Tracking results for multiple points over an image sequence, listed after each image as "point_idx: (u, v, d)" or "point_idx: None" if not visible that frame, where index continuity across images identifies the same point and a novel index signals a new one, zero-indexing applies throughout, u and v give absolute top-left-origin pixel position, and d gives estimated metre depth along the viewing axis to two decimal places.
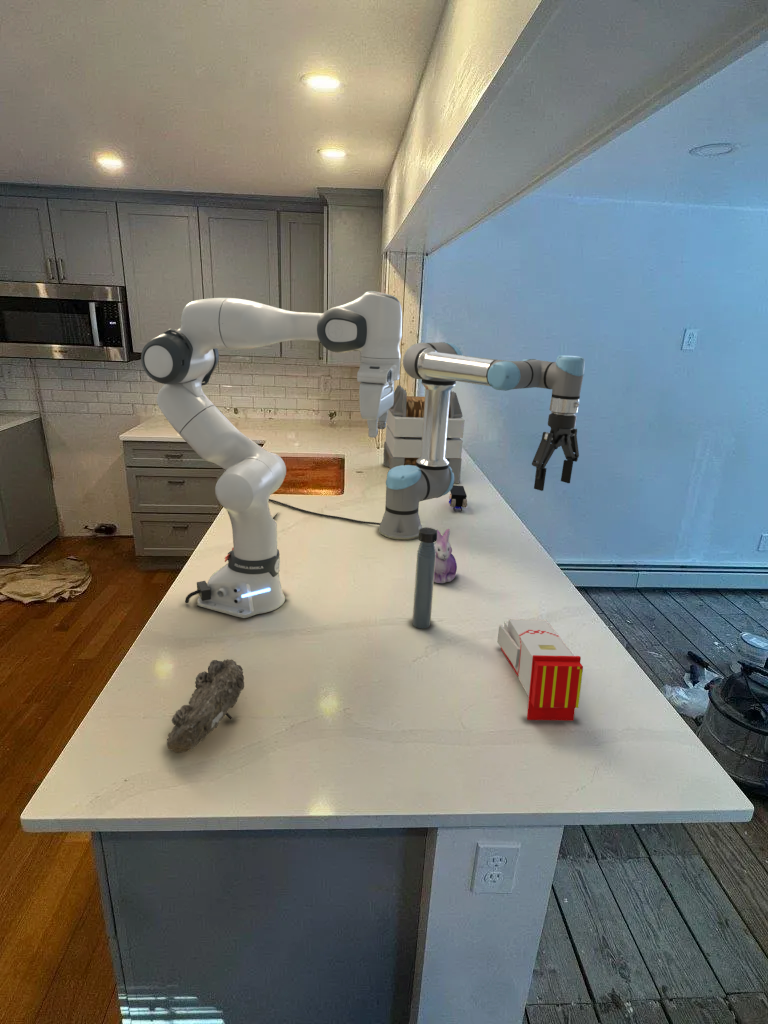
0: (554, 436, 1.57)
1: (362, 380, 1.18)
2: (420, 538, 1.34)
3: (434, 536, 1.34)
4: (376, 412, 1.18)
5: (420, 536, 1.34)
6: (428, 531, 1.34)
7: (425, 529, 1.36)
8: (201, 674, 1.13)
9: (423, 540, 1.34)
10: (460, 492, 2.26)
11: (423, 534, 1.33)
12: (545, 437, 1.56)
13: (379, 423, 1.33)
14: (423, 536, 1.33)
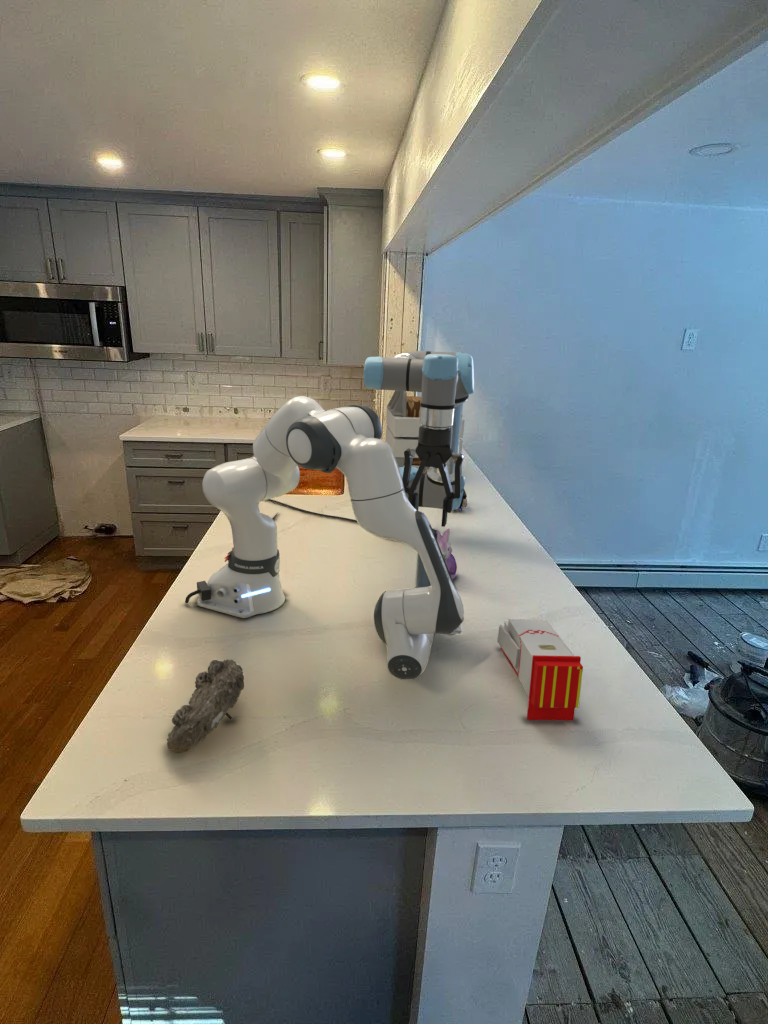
0: None
1: None
2: None
3: None
4: None
5: None
6: None
7: None
8: (201, 674, 1.13)
9: None
10: None
11: None
12: (461, 462, 1.27)
13: None
14: None
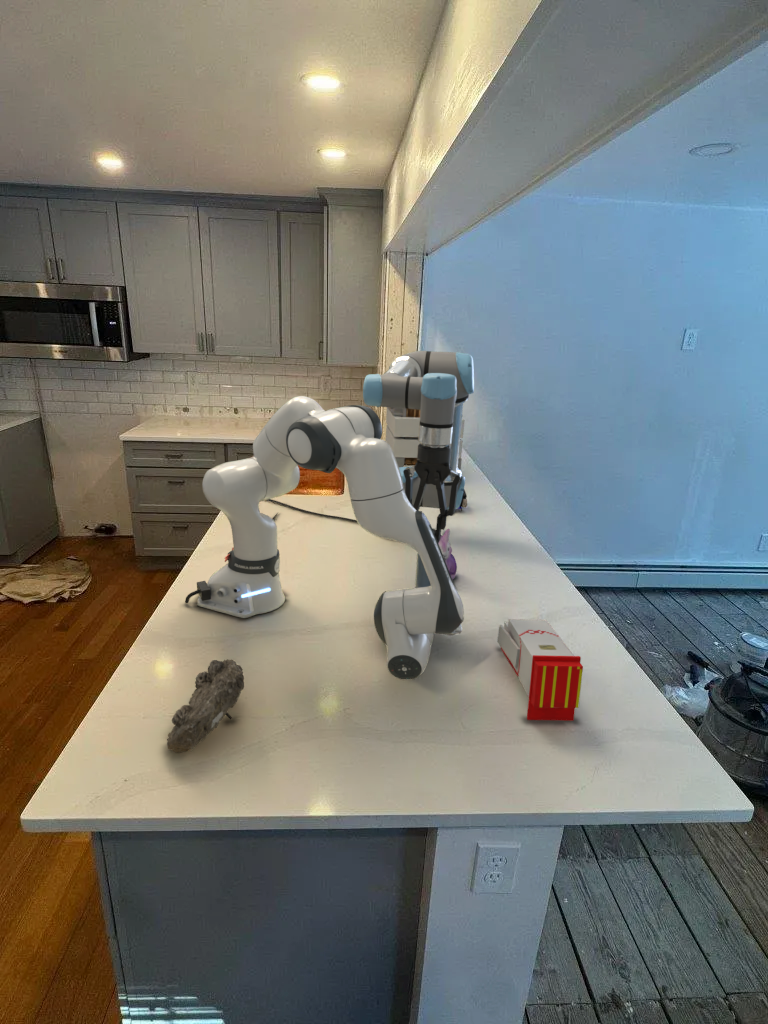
0: None
1: None
2: None
3: None
4: None
5: None
6: None
7: None
8: (201, 674, 1.13)
9: None
10: None
11: None
12: (459, 481, 1.29)
13: None
14: None
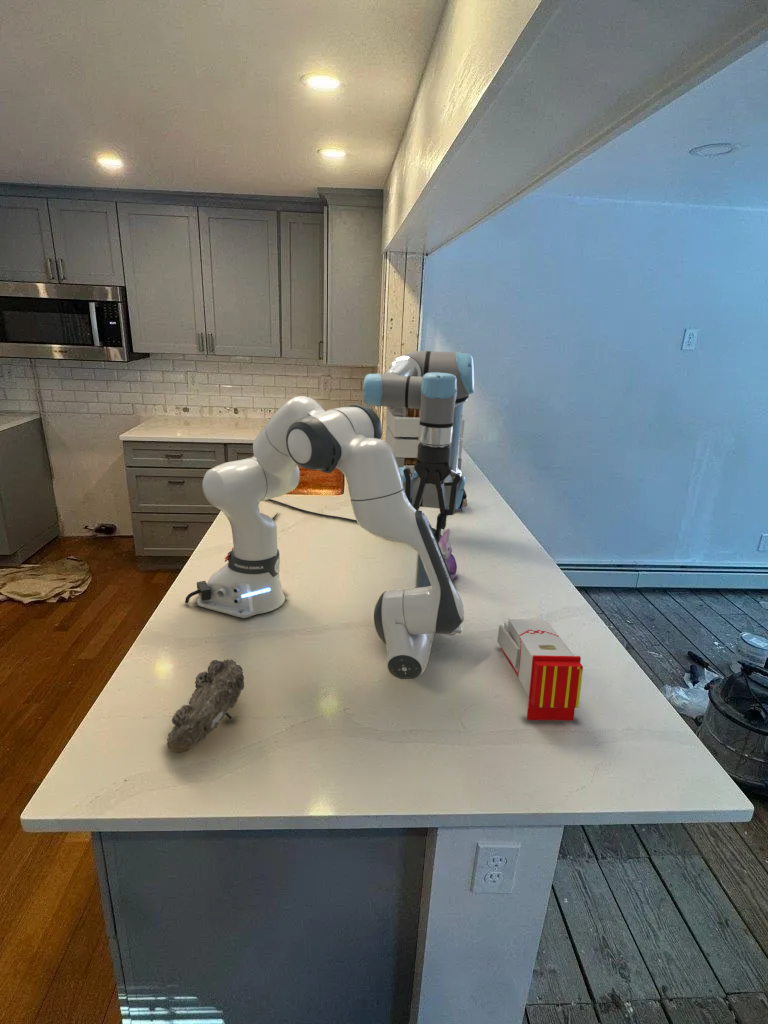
0: None
1: None
2: None
3: None
4: None
5: None
6: None
7: None
8: (201, 674, 1.13)
9: None
10: None
11: None
12: None
13: None
14: None
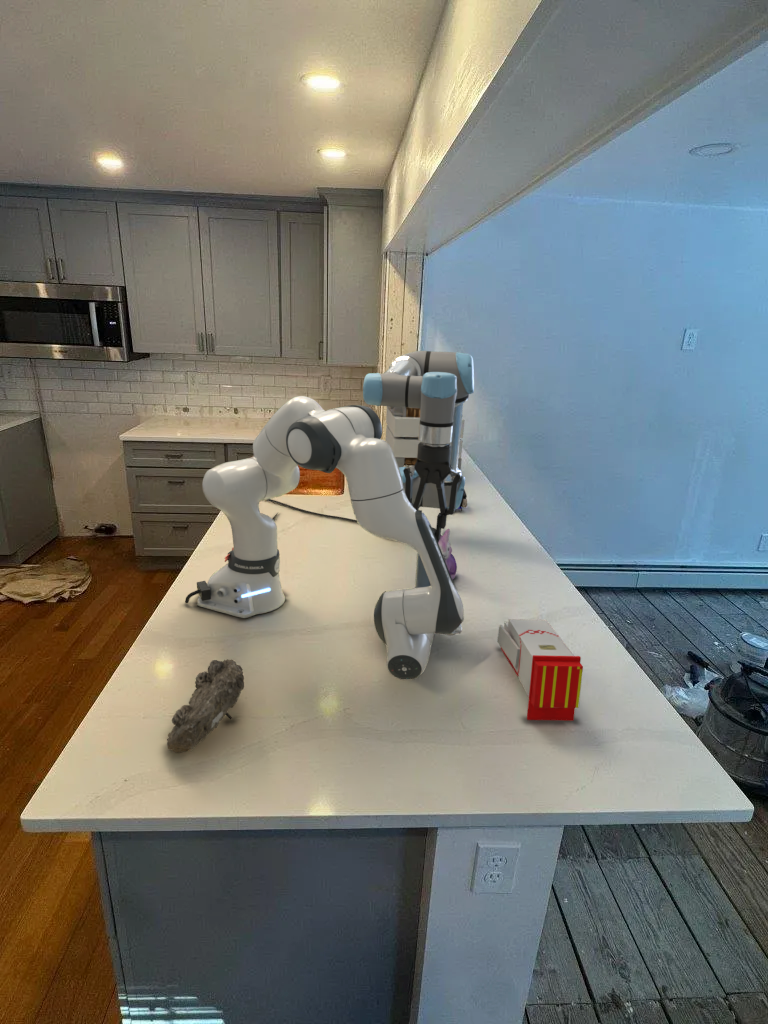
0: None
1: None
2: None
3: None
4: None
5: None
6: None
7: None
8: (201, 674, 1.13)
9: None
10: None
11: None
12: None
13: None
14: None
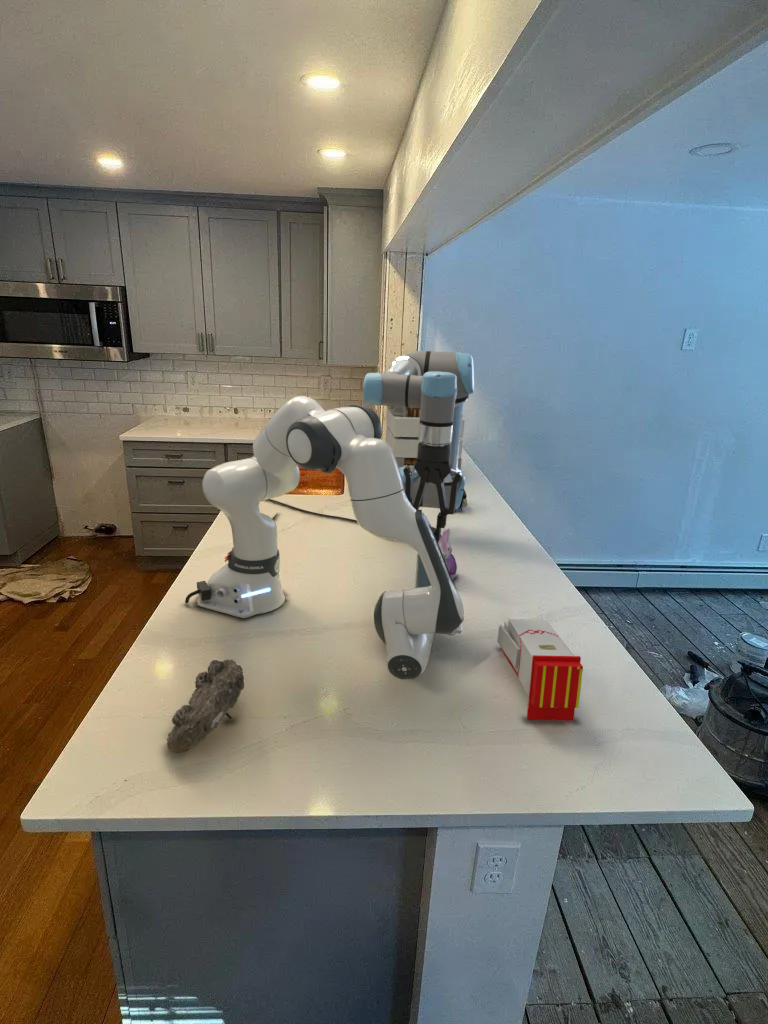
0: None
1: None
2: None
3: None
4: None
5: None
6: None
7: None
8: (201, 674, 1.13)
9: None
10: None
11: None
12: None
13: None
14: None
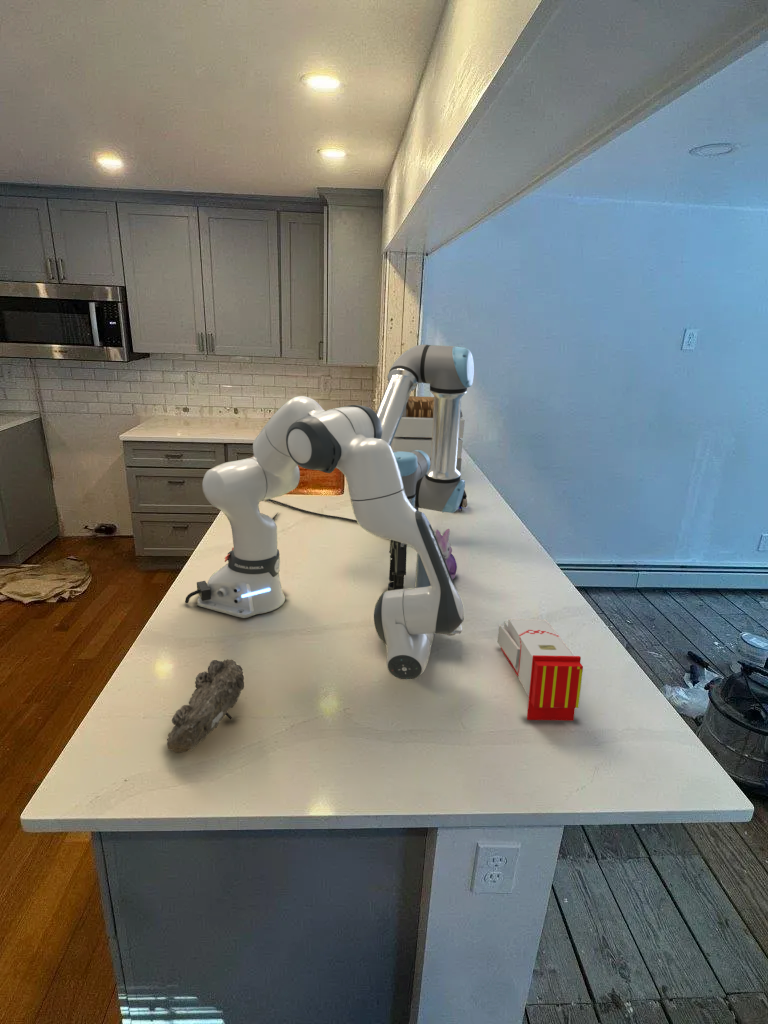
0: None
1: None
2: None
3: None
4: None
5: None
6: None
7: (392, 585, 1.58)
8: (201, 674, 1.13)
9: None
10: None
11: None
12: None
13: None
14: None
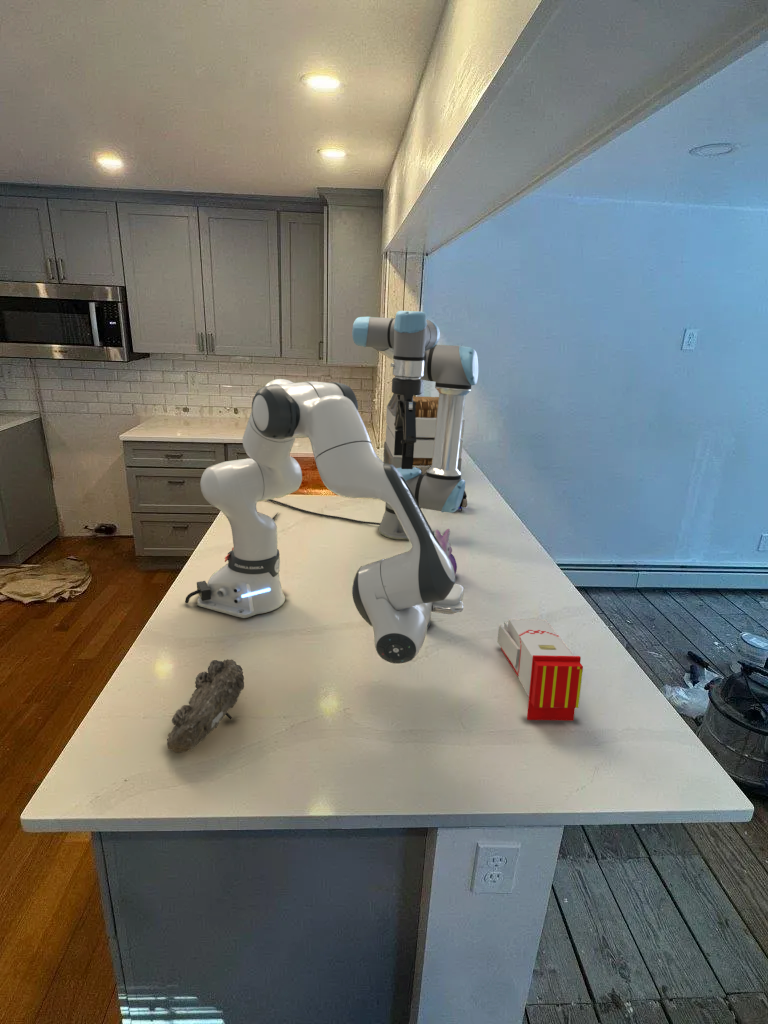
0: None
1: None
2: None
3: None
4: None
5: None
6: None
7: None
8: (201, 674, 1.13)
9: None
10: None
11: None
12: None
13: None
14: None
